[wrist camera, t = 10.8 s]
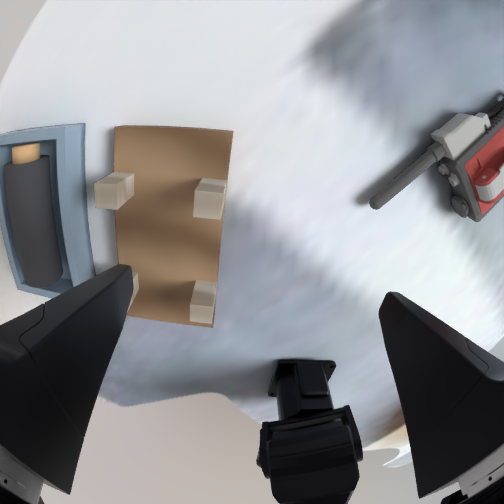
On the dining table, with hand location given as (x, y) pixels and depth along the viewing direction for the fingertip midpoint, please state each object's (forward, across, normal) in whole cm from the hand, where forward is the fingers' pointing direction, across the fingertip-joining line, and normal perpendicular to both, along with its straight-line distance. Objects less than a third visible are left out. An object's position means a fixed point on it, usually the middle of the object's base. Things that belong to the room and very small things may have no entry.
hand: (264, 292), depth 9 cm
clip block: (+12, +6, +4) cm, 14 cm away
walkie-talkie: (+13, -18, -6) cm, 22 cm away
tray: (+12, +18, +3) cm, 21 cm away
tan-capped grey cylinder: (+11, +17, +3) cm, 21 cm away
